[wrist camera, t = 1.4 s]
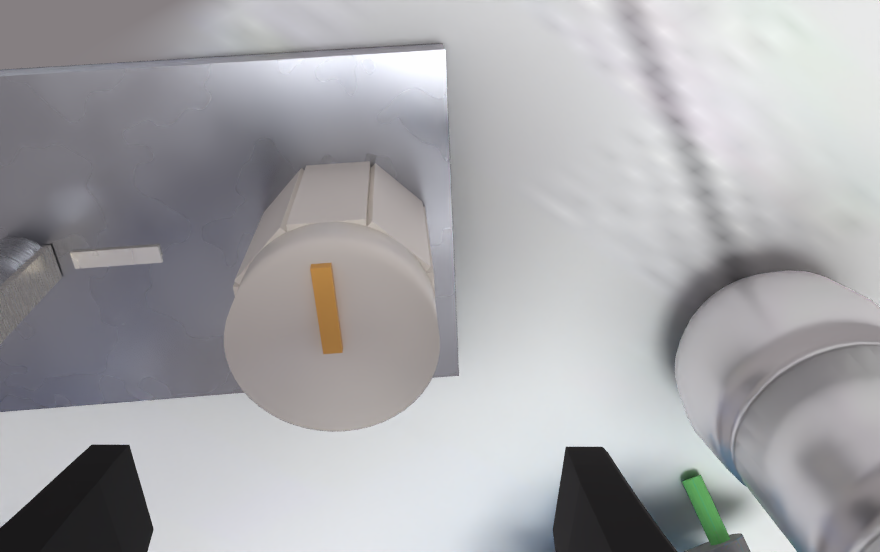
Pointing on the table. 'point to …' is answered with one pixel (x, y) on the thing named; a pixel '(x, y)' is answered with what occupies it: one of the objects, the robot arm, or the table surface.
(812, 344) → the plastic bottle
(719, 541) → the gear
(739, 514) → the table surface
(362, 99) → the flat rectangular plate
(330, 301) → the knob
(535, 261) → the table surface
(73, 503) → the robot arm
